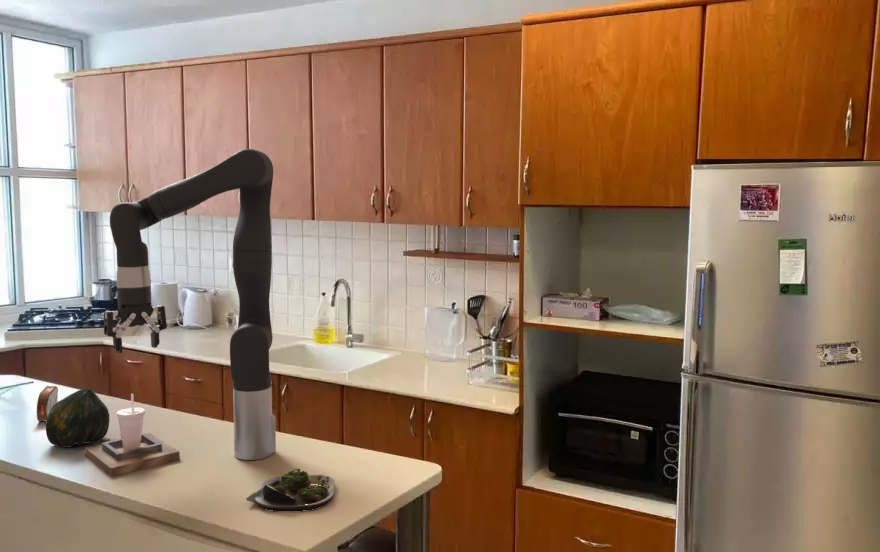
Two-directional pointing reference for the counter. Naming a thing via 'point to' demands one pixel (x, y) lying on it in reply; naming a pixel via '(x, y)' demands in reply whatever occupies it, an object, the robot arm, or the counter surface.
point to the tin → (46, 402)
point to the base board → (131, 455)
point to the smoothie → (131, 425)
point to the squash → (77, 419)
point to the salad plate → (294, 492)
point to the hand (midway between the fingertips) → (137, 349)
